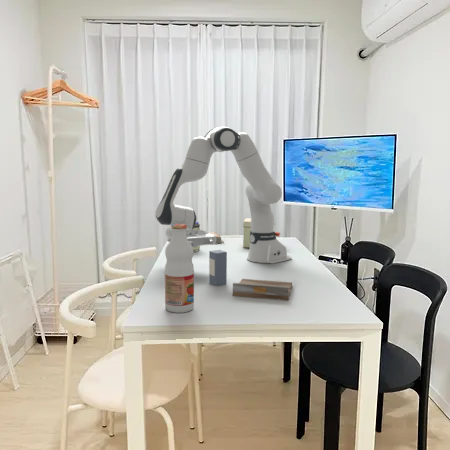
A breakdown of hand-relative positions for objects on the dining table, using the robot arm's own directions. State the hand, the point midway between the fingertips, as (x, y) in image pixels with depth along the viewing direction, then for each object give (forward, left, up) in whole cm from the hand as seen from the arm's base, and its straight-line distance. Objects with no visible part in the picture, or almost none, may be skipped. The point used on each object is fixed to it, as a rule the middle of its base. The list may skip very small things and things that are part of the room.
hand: (202, 243), depth 181 cm
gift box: (-60, -43, -14) cm, 75 cm away
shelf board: (-10, +29, -14) cm, 34 cm away
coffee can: (-20, -51, -14) cm, 57 cm away
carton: (0, +12, -14) cm, 19 cm away
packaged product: (-45, -68, -15) cm, 83 cm away
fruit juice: (+26, +31, -14) cm, 43 cm away
